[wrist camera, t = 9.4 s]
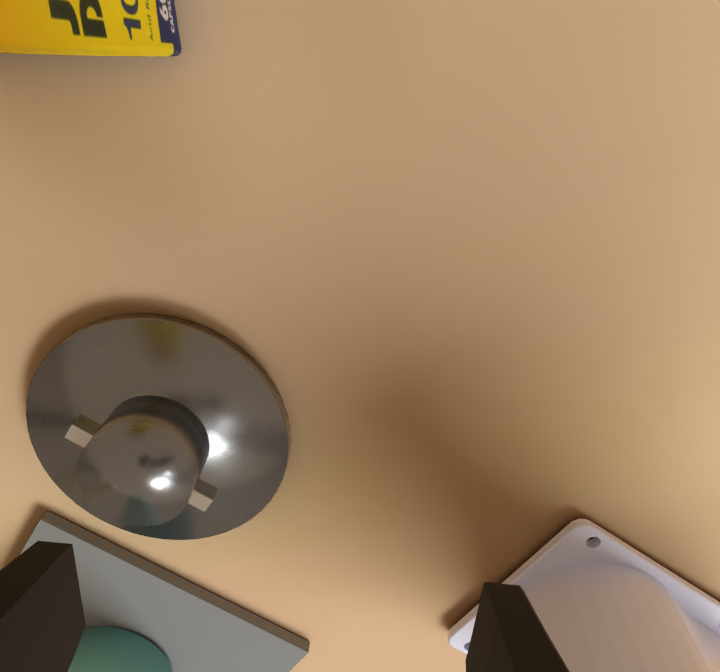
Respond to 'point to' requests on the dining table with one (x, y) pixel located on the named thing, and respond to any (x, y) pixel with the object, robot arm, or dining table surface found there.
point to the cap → (117, 652)
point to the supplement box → (89, 27)
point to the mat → (169, 609)
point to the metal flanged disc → (159, 426)
